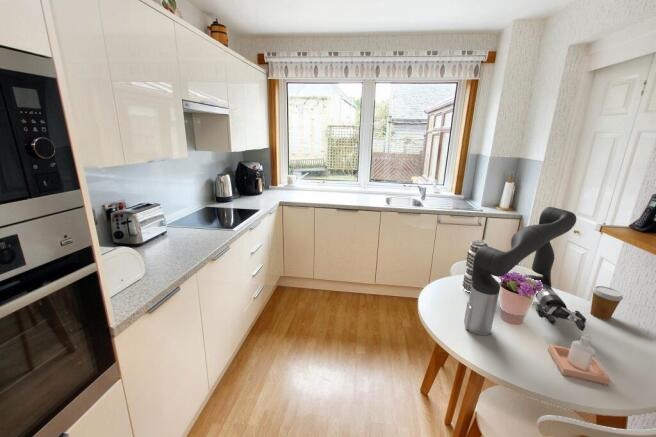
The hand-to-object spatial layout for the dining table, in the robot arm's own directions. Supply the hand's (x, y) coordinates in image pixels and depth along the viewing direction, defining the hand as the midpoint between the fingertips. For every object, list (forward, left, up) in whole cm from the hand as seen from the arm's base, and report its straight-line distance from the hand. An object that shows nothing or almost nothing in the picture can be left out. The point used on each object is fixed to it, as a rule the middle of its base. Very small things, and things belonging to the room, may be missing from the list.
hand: (568, 325), depth 104 cm
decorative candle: (-26, +32, -9) cm, 43 cm away
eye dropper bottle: (0, -10, -8) cm, 13 cm away
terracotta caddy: (0, -10, -8) cm, 14 cm away
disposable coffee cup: (+24, +28, -9) cm, 38 cm away
